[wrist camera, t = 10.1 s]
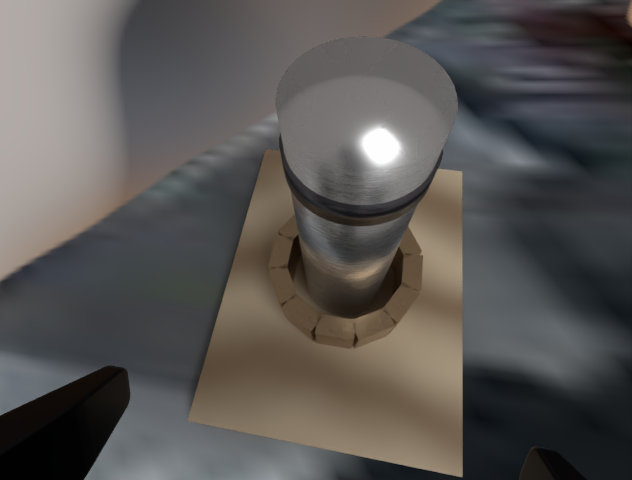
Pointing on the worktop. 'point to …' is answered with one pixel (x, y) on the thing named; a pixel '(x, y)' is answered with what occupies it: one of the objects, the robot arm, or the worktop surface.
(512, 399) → the worktop surface
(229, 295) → the oak base board
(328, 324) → the wooden collar
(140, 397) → the worktop surface
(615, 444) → the worktop surface
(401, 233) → the steel tube
